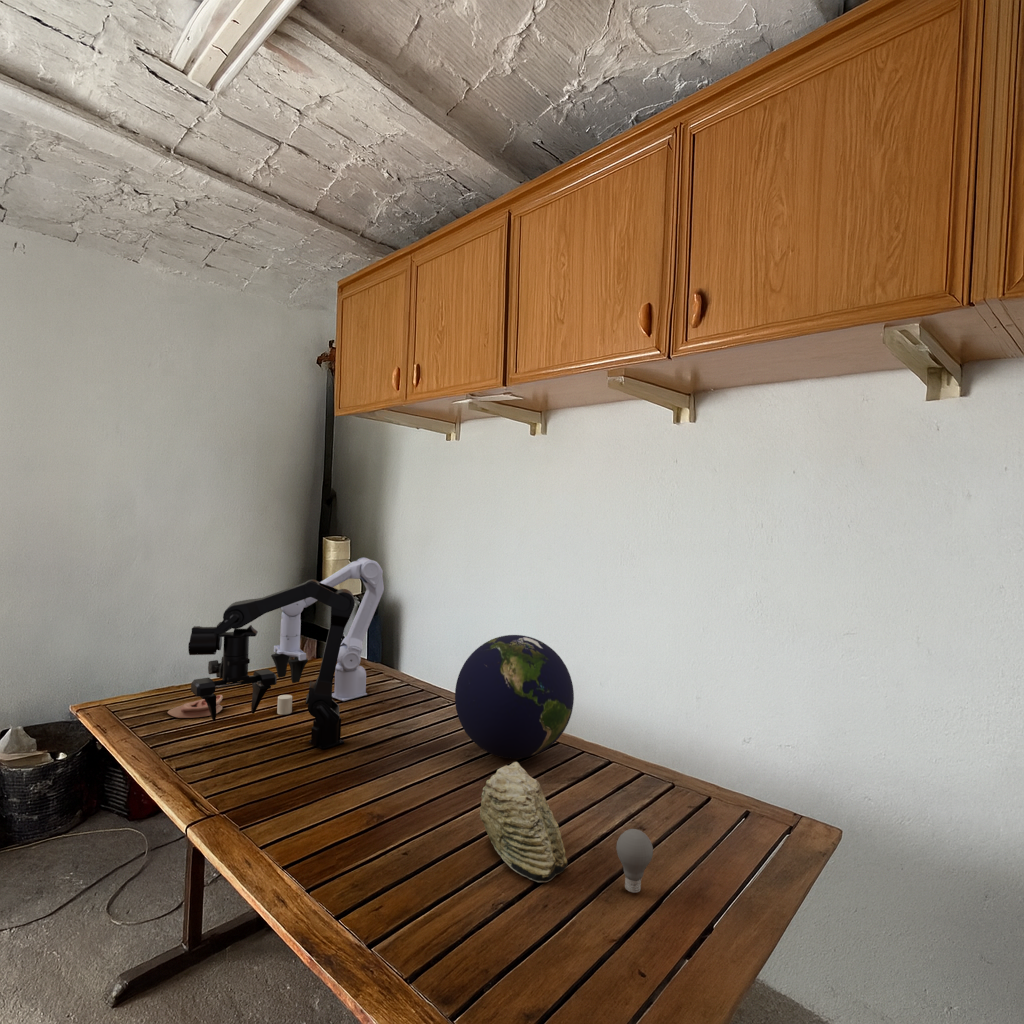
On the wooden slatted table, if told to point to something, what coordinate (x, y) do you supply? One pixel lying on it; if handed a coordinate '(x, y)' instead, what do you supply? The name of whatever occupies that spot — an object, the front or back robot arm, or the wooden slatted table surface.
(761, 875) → the wooden slatted table surface
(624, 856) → the light bulb
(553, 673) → the globe
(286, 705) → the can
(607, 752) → the wooden slatted table surface
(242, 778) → the wooden slatted table surface
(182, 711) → the anatomical model
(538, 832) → the fossil
